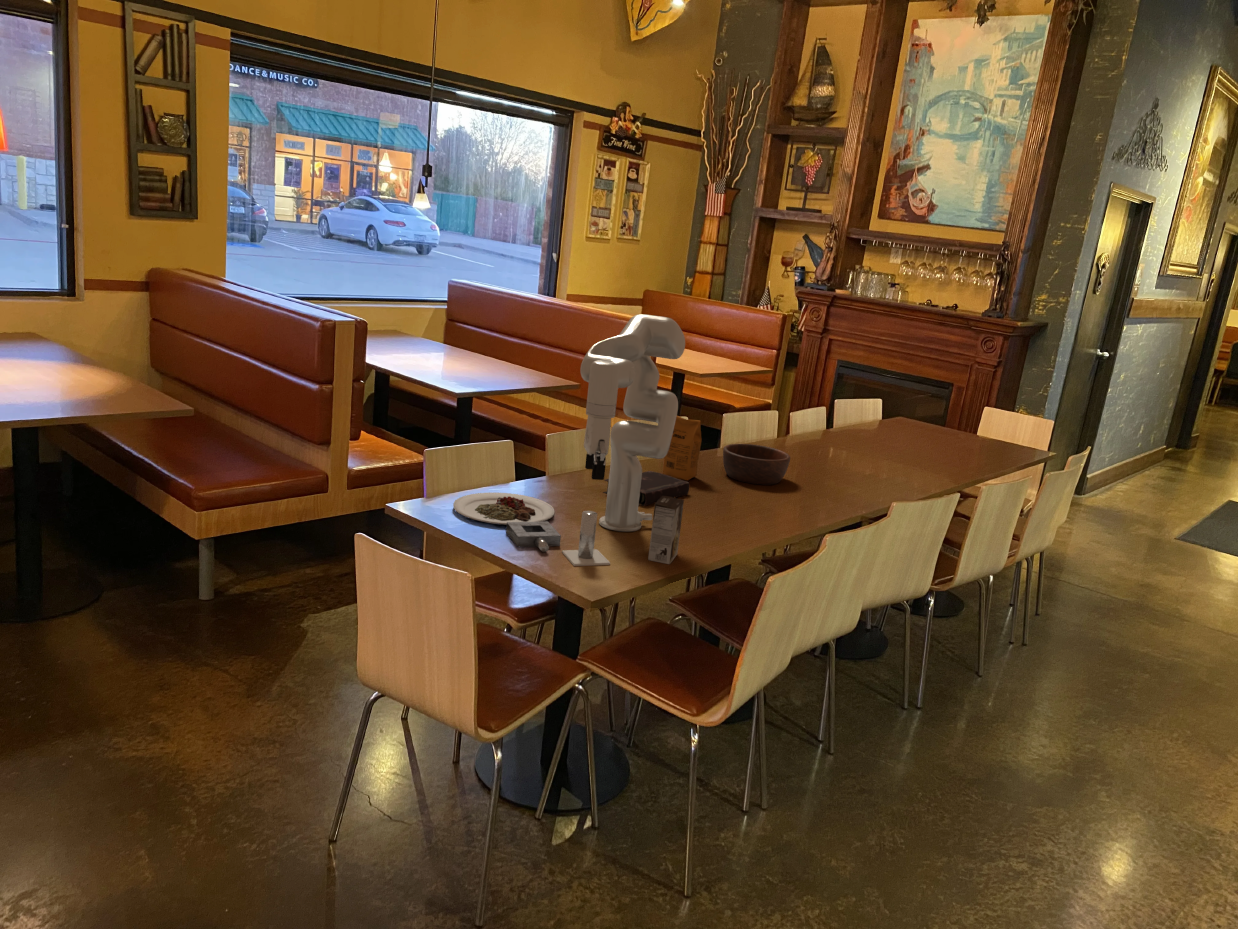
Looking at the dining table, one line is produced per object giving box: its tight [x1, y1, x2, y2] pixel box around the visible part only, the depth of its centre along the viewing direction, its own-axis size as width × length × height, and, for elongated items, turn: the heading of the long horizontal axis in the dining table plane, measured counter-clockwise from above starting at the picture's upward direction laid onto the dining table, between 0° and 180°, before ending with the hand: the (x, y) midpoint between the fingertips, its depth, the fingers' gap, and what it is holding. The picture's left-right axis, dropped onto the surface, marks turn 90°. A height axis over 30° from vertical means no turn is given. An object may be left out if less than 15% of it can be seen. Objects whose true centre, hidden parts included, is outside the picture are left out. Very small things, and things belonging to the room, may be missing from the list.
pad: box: [561, 548, 611, 567], centre depth 249 cm, size 10×10×1 cm
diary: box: [602, 470, 690, 507], centre depth 317 cm, size 19×25×5 cm
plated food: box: [452, 492, 555, 526], centre depth 280 cm, size 30×30×3 cm
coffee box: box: [647, 496, 685, 565], centre depth 255 cm, size 9×6×16 cm
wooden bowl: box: [722, 443, 791, 486], centre depth 352 cm, size 25×25×10 cm
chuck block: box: [505, 520, 562, 553], centre depth 257 cm, size 12×17×3 cm
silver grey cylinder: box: [577, 510, 598, 559], centre depth 248 cm, size 4×4×12 cm
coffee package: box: [661, 415, 702, 481], centre depth 341 cm, size 10×12×22 cm
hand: (594, 474), depth 244 cm, fingers open, 9 cm apart
